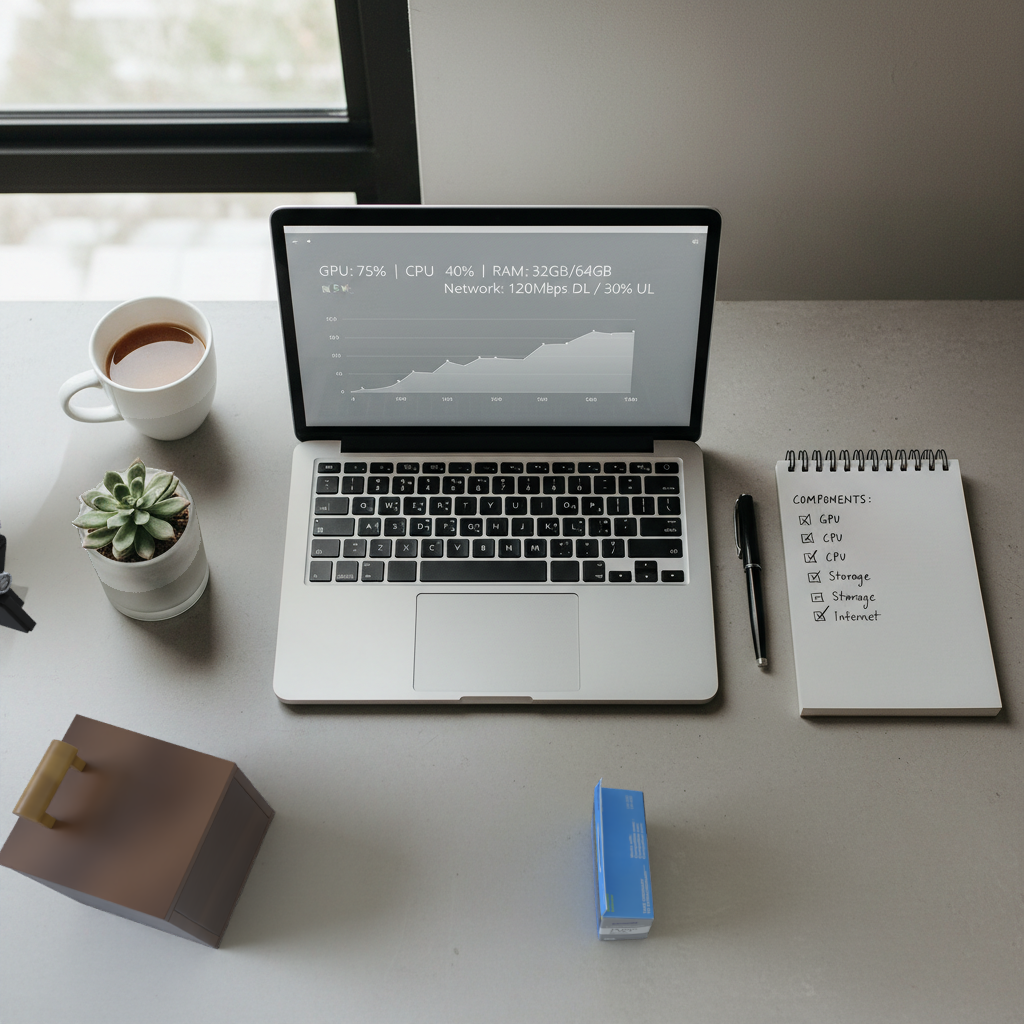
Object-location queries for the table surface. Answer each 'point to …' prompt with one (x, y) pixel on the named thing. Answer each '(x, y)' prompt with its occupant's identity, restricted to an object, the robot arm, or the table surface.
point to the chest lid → (117, 815)
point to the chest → (207, 870)
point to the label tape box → (621, 864)
